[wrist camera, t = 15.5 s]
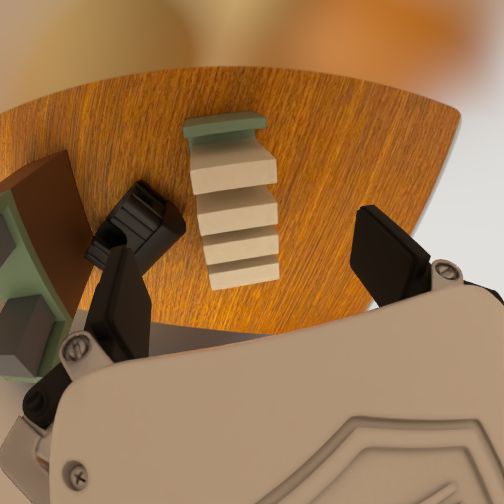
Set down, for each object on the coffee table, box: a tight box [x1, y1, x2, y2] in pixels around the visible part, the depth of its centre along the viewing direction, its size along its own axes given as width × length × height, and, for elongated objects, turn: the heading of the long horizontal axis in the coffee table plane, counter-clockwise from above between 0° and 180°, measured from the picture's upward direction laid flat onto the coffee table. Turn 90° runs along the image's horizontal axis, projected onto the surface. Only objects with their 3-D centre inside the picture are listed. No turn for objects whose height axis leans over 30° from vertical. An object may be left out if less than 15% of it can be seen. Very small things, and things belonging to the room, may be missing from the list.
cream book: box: [190, 138, 277, 195], centre depth 24 cm, size 2×6×9 cm, turn 94°
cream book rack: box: [182, 111, 279, 291], centre depth 27 cm, size 16×7×10 cm, turn 4°
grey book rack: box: [0, 150, 94, 383], centre depth 20 cm, size 14×7×20 cm, turn 4°
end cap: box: [83, 180, 186, 276], centre depth 29 cm, size 10×7×7 cm
